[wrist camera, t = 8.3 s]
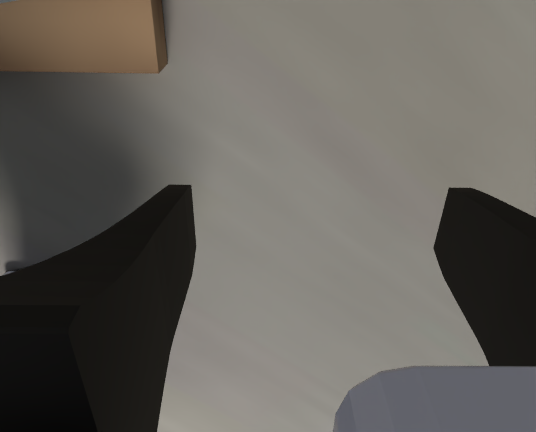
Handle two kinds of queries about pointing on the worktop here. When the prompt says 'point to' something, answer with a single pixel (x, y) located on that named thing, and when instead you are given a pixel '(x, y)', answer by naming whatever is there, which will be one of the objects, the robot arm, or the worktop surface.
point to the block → (3, 0)
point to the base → (82, 36)
